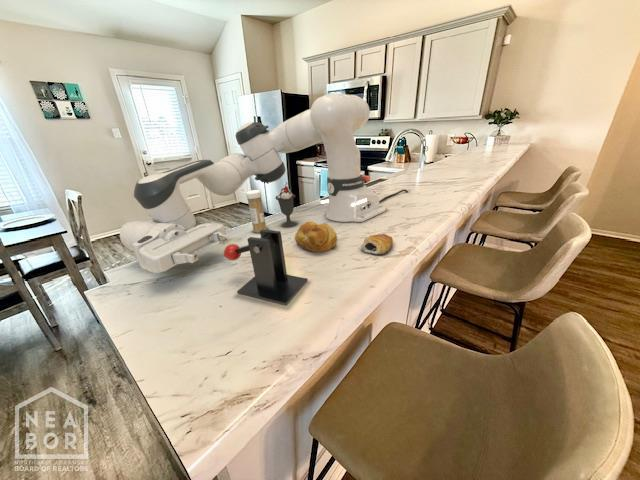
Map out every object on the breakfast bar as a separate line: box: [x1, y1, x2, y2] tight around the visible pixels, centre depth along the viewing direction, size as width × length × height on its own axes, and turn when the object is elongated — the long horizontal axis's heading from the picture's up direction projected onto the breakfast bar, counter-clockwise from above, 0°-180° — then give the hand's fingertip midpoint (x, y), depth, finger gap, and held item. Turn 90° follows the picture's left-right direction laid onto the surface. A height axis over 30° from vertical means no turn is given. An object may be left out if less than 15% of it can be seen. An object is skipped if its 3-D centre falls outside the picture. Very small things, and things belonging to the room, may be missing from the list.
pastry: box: [360, 233, 394, 255], centre depth 70 cm, size 9×7×4 cm
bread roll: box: [294, 221, 338, 254], centre depth 73 cm, size 13×10×8 cm
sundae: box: [275, 181, 297, 228], centre depth 89 cm, size 7×7×15 cm
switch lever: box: [223, 235, 276, 261], centre depth 55 cm, size 13×4×4 cm, turn 65°
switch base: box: [236, 229, 309, 307], centre depth 54 cm, size 12×9×13 cm
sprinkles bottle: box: [245, 189, 268, 234], centre depth 86 cm, size 5×5×14 cm
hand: (211, 248), depth 60 cm, fingers open, 8 cm apart
